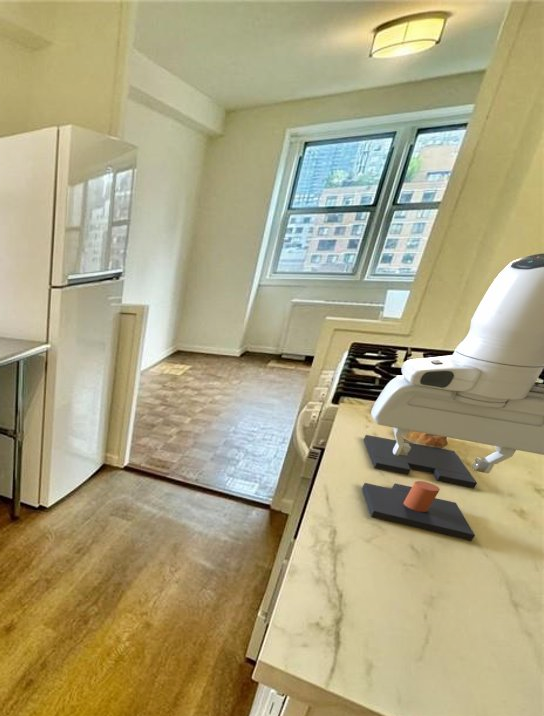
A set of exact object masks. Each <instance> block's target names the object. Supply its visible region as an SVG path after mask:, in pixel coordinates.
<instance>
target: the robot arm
mask: <svg viewBox="0 0 544 716" xmlns="http://www.w3.org/2000/svg"><path fill="white" fill-rule="evenodd" d="M400 370H401V371H400V372H401V374H402V375H397V376H396V377H394V378H392V379H391V380H390V381H389V382H387V384H386V385H385V386H384V388H383V389H382V390H381V392H380V394H379V396H378V397H377V399H376V400H375V402H374V404H373V406H372V408H371V411H370V415H371V418H372V420H373V421H374V423H375V424H376V425H378V426H383V427H388V428H392V431H393V434H394V437H395V440H396V441H397V442H396V444H395V446H394V448H393V454H394V455H399V456H404V457H406V456H407V455H408V452H409V451H410V449H411V447H410V445H409V443H410V442H408V443H404V442H405V441H404V438H403V437H402V435H403V436H408V434H409V432H410V431H416V432H421V433H426V434H432V435H437V436H443V437H447V438H450V439H454V440H459V441H465V442H471V443H476V444H482V445H488V446H492V447H494V449H495V451H494V452H492V453H490V454H489V455H487V456H485V457H482V456H477V457H476V458H475V459H474V461H475V462H473V463H472V465H471V468H472V469H473V471H474V472H477V473H478V472H479V473H483V474H489V473H490V472H491V471H492V469H493V467H494V466H495V465H497V464H500V463H501V462H503V461H505V460H508V459H509V458H511V457H513V456H514V454H515V453H516V451H521V452H526V453H531V454H535V455H536V454H537V455H542V456H544V384H543V383H542V384H541V383H536V382H537V380H538V378H539V376H540V375H541V374H542V372H543V370H544V252H543V253H535V254H530V255H525V256H522V257H520V258H517V259H515V260H513V261H511V262H510V263H509V264H508V265H507V266H505V268H504V269H503V270H501V272H500V273H499V274H498V275H497V276H496V277H495V279H494V280H493V281H492V283H491V284H490V286H489V287H488V289H487V291H486V292H485V294H484V296H483V297H482V299H481V301H480V302H479V304H478V306H477V308H476V309H475V312H474V313H473V315H472V317H471V320H470V326H469V330H468V332H467V335H466V336H465V338H464V339H463V340H462V341H460V342H459V344H458V345H457V346H456V347H455V350H454V352H453V353H452V354H450V355H442V356H433V357H423V358H412V359H411V358H410V359H407V360H406V361H404V362H403V363H402V366H401V369H400Z"/></svg>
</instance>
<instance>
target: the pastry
mask: <svg viewBox="0 0 544 716" xmlns="http://www.w3.org/2000/svg"><path fill="white" fill-rule="evenodd" d="M402 437H403V440H406V441H407V442H408V443H414V444H419V445H424V446H430V447H435V448H441V449H445V447H446V446H448V445H449V442H448V440H447V438H448V437H443V436H437V435H432V434H426V433H421V432H416V431H410V432H409V434H408V436H403V435H402Z"/></svg>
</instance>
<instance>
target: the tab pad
mask: <svg viewBox="0 0 544 716" xmlns="http://www.w3.org/2000/svg"><path fill="white" fill-rule="evenodd" d="M412 484H413V485H411V486H410V485H406V484H405V485H404V484H400V483H393V485H392V487H391V488H390V487H386V486H383V485H378V484H372V483H368V482H364V483H363V485H362V488H361V489H362V493H363V496H364V500H365V502H366V506H367V509H368V514H369V516H370V518H373V519H378V520H382V521H385V522H390V523H394V524H398V525H403V526H406V527H409V528H410V527H411V528H415V529H419V530H423V531H427V532H432V533H435V534H439V535H443V536H448V537H451V538H456V539H460V540H464V541H468V542H472V541H473V539H474V538H475V537H476V534H475V532H474V531H473V529H472V527H471V526H470V524H469V522H468V521H467V519H466V517H465V516H464V514H463V512H462V510H461V509H460V507H459V505H458V504H457V502H456V501H451V500H445V499H441V498H437V496H438V494H439V493H440V490H441V489H440V487H439V486H437V485H436V484H433V483H431V482H428V481H424V480H415V481H414V483H412Z"/></svg>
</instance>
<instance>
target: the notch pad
mask: <svg viewBox="0 0 544 716" xmlns="http://www.w3.org/2000/svg"><path fill="white" fill-rule="evenodd" d="M363 442H364V444H365V445H364V446H365V447H366V450H367V452H368V455H369V458H370V460H371V463H372V466H373V468H374V469H375V470H381V471H386V472H390V473H395V474H401V475H405V476H409V475H410V472H411V471H412V470H413V471H416V472H417V471H418V472H421V473H427V474H432V476H433V477H434V479H435V481H436V482H439V483H445V484H449V485H455V486H459V487H464V488H470V489H475V488H476V486H477V485H478V482H477V481H476V479H475V478H474V476H473V474H471V472H470V471H469V469H468V468H467V467H466V465H465V464H464V462H463V461H462V459H461V458H460V456H459V455H458V454H457V452H456V451H455V450H451V449H446V448H435V447H430V446H424V445H419V444H414V443H412V442H409V441H404V443H409V445H410V447H411V449H410V451H409V452H408V455H407V456H406V457H404V456H399V455H394V454H393V448H394V446H395V444H396V442H397V441H396V439H390V438H386V437H381V436H376V435H375V436H374V435H369V434H365V435H364V438H363Z"/></svg>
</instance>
